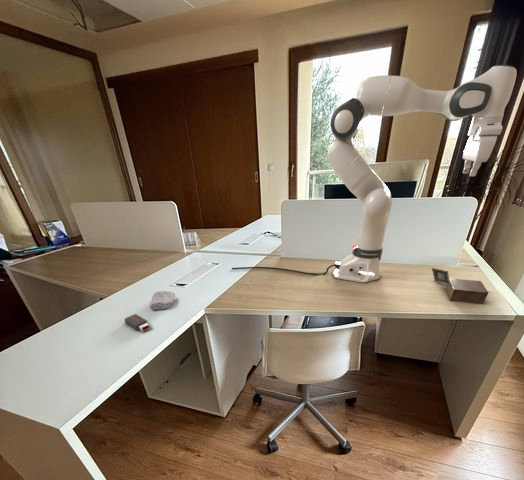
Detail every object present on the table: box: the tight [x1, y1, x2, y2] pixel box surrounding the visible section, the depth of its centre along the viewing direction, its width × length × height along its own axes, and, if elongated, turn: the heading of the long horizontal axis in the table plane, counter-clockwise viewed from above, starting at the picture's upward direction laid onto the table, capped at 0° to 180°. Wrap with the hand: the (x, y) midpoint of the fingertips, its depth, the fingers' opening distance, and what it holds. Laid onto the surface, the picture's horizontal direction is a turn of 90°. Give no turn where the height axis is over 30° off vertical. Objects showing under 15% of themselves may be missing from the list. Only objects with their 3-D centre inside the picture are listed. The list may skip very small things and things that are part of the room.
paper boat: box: [431, 267, 450, 286], centre depth 131 cm, size 12×6×9 cm
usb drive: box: [124, 313, 151, 333], centre depth 112 cm, size 5×12×3 cm, turn 48°
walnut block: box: [444, 278, 490, 305], centre depth 119 cm, size 12×12×5 cm
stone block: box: [148, 290, 176, 311], centre depth 126 cm, size 12×5×10 cm
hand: (468, 174), depth 108 cm, fingers open, 8 cm apart
